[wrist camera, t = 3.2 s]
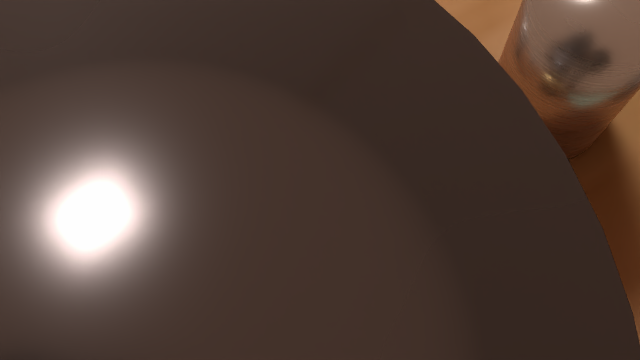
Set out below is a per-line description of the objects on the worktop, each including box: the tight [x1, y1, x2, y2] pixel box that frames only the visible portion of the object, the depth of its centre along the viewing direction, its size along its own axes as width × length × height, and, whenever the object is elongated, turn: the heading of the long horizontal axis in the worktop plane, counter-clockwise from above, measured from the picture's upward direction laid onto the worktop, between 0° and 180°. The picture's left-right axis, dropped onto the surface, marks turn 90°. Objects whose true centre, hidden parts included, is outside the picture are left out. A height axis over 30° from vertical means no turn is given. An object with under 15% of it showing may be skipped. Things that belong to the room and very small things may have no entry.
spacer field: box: [498, 0, 640, 159], centre depth 14 cm, size 12×28×5 cm, turn 78°
